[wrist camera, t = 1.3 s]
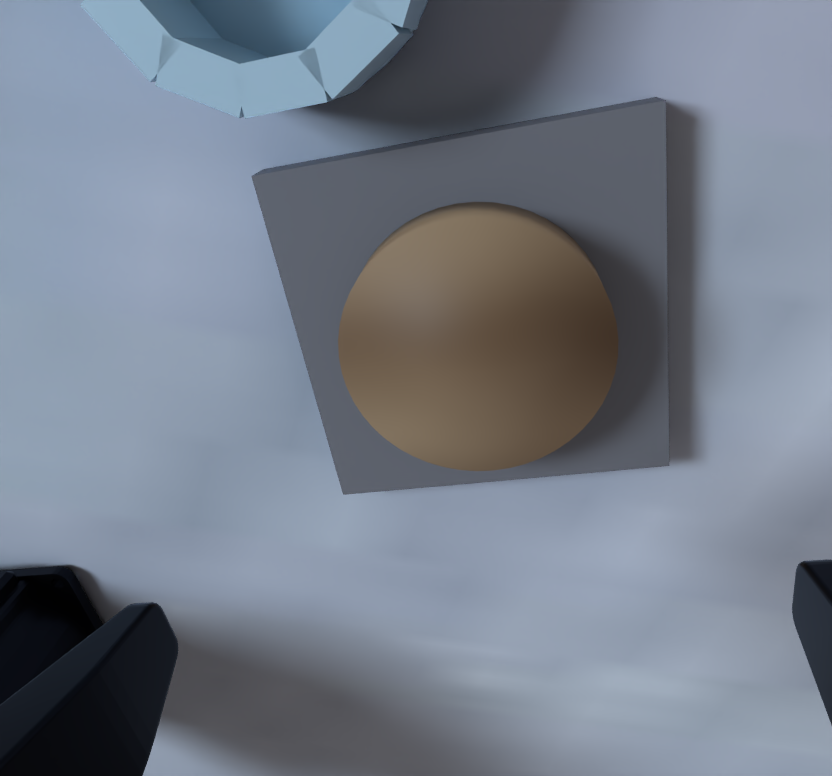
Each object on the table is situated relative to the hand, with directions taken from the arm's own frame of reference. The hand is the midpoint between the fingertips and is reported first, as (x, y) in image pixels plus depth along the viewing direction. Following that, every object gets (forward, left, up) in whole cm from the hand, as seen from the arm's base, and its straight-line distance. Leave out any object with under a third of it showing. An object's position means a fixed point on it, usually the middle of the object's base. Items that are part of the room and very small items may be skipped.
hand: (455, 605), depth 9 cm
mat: (0, 0, -11) cm, 11 cm away
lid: (0, 0, -10) cm, 10 cm away
